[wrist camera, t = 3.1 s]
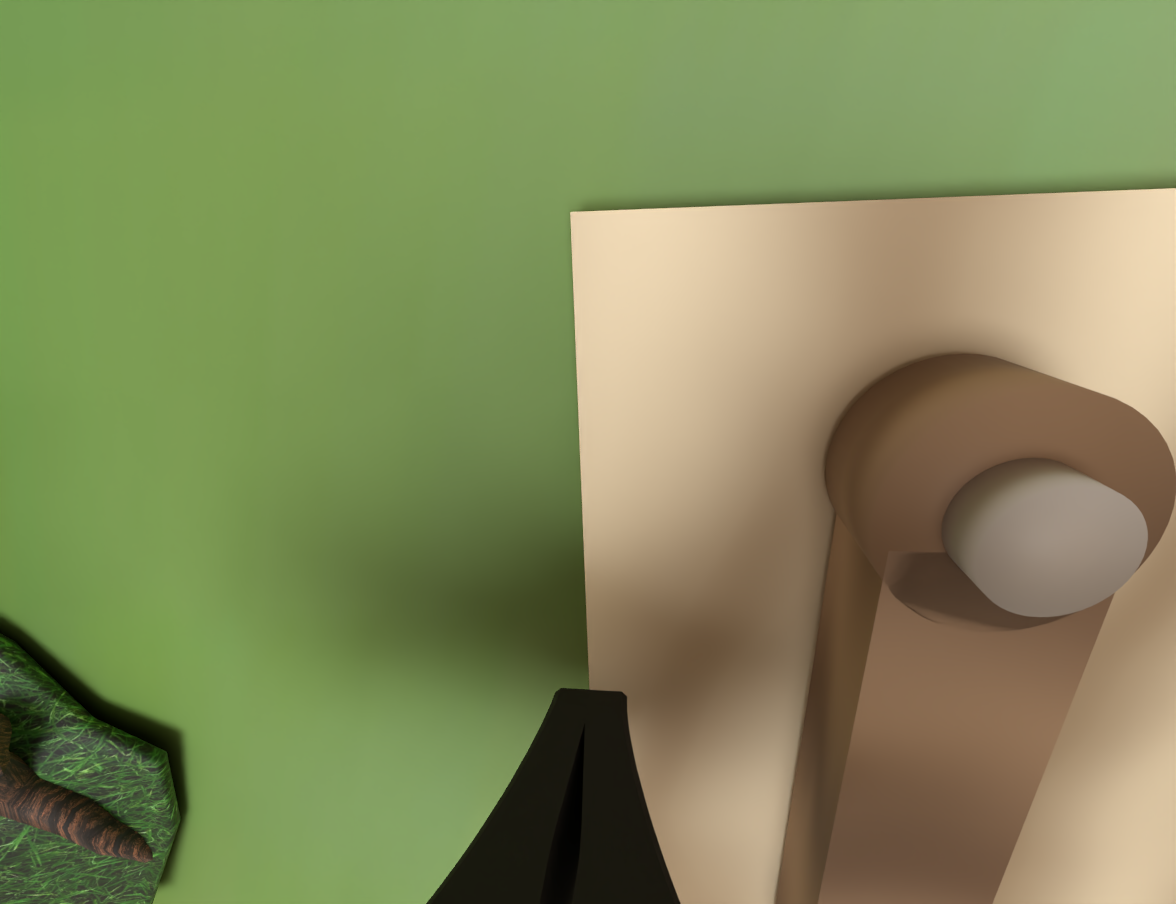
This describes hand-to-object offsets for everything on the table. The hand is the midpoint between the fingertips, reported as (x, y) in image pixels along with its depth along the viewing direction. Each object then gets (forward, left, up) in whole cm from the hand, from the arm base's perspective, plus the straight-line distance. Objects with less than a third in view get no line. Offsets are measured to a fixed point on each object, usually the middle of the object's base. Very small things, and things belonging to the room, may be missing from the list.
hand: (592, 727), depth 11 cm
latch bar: (-6, 0, -1) cm, 6 cm away
